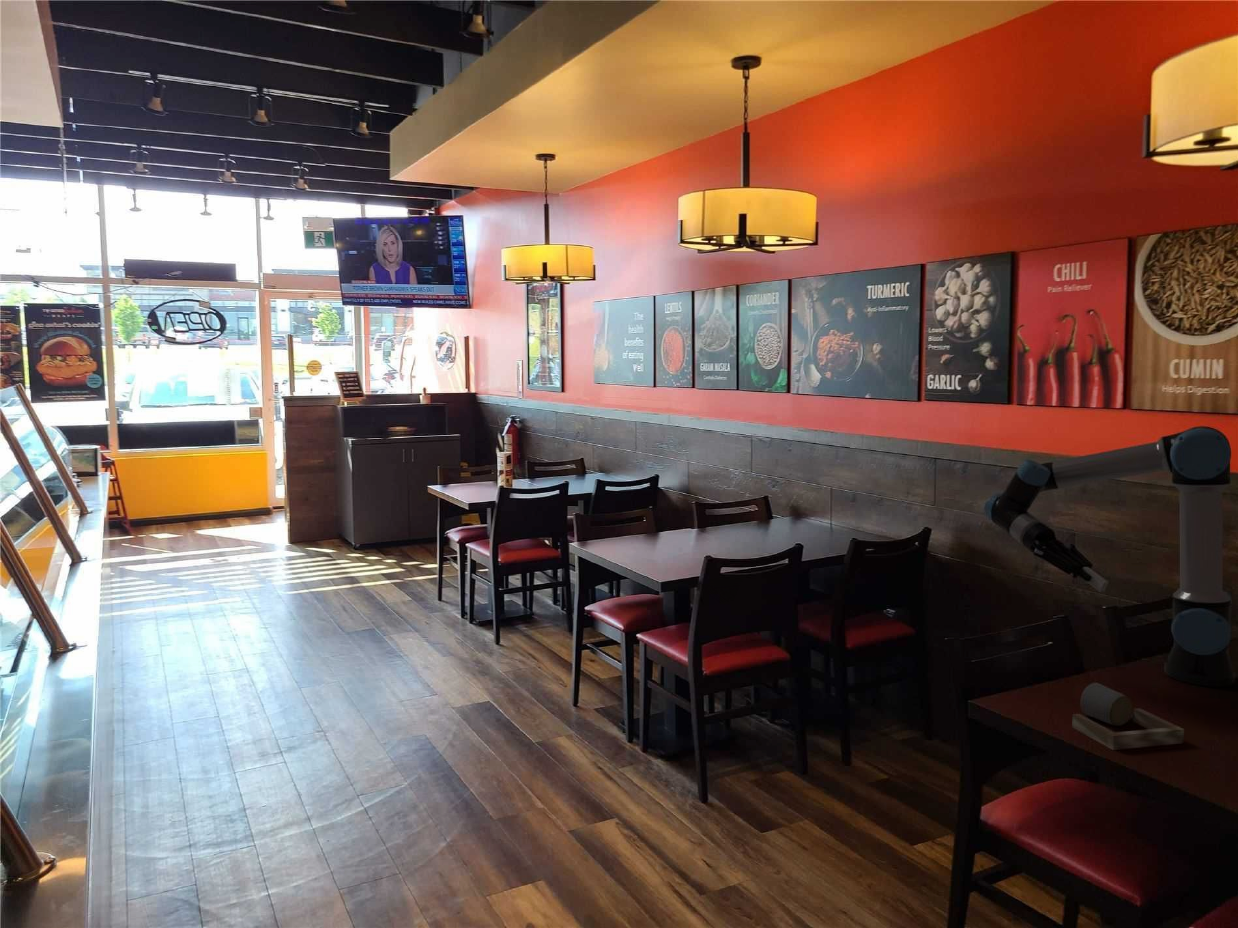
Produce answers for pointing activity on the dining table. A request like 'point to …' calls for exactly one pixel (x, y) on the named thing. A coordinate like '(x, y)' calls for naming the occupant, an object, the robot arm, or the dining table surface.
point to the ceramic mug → (1106, 705)
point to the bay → (1132, 732)
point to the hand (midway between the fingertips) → (1104, 586)
